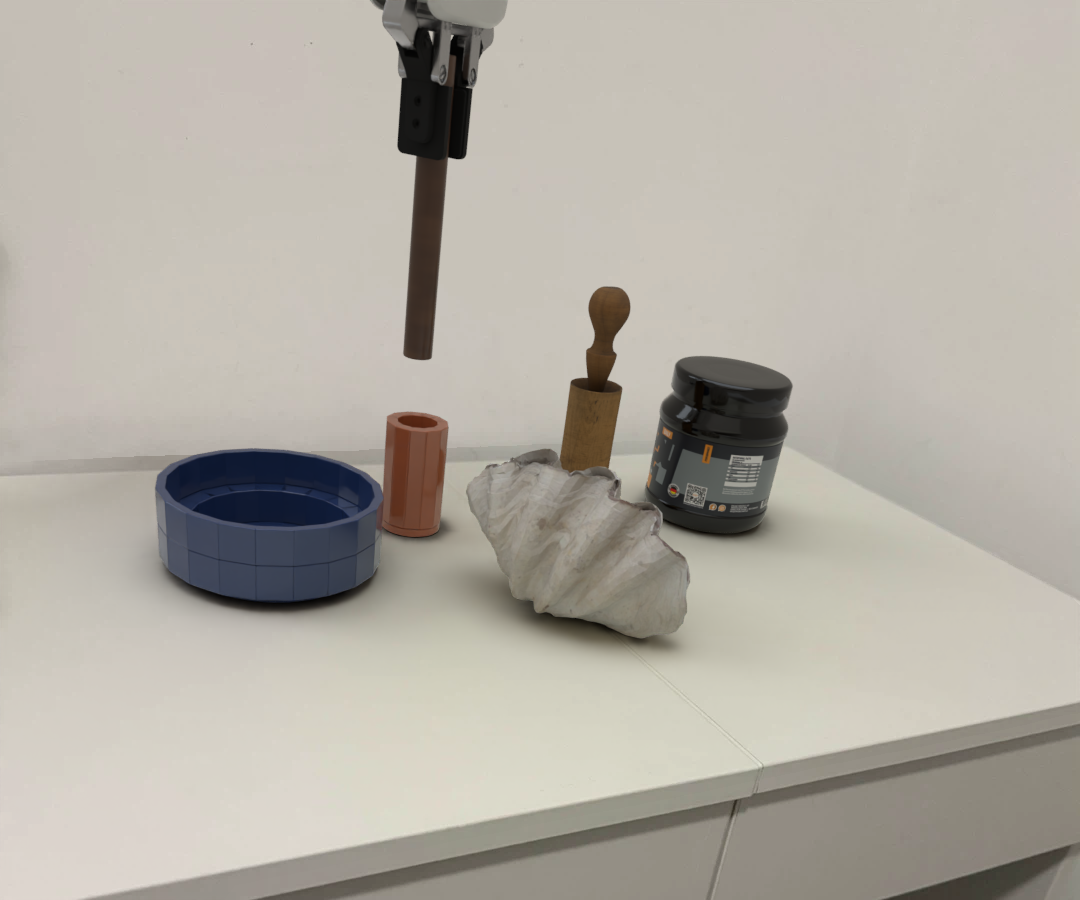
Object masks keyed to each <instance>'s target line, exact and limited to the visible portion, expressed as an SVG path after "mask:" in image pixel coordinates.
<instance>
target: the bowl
mask: <svg viewBox="0 0 1080 900" xmlns="http://www.w3.org/2000/svg"><path fill="white" fill-rule="evenodd" d="M382 491H383V489H382V485H381V484H380V483H379V482H378V481H376V480H375V479H374V478H373V477H372V476H371V475H370V474H368V473H367V472H366V471H363V470H362V469H360V468H357V467H356V466H353V465H351V464H349V463H347V462H344V461H340V460H337V459H334V458H330V457H326V456H323V455H319V454H315V453H308V452H304V451H303V452H302V451H295V450H289V449H277V448H259V447H254V448H253V447H250V448H233V449H231V448H230V449H220V450H219V449H218V450H213V451H208V452H202V453H197V454H192V455H190V456H187V457H185V458H182V459H179V460H176V461H174V462H171V463H170V464H169V465H167V466H166V467H165V468H164V469H162V470H161V471H160V472H159V473H158V474H157V475H156V480H155V486H154V493H155V510H156V511H155V512H156V523H157V525H156V527H157V538H158V539H157V541H158V555H159V558H160V560H161V561H162V563H163V564H164V566H165V568H166V569H167V571H168V572H170V573H171V574H172V575H174V576H176V577H177V578H179V579H181V580H182V581H184V582H185V583H187V584H189V585H191V586H193V587H196V588H199V589H203V590H205V591H208V592H211V593H214V594H217V595H221V596H224V597H228V598H233V599H236V600H243V601H249V602H255V603H256V602H258V603H272V604H273V603H274V604H275V603H278V604H279V603H296V602H297V603H298V602H299V603H300V602H305V601H306V602H307V601H312V600H313V601H314V600H316V599H320V598H325V597H329V596H330V597H331V596H333V595H336V594H340V593H342V592H345V591H350V590H352V589H354V588H357V587H359V586H360V585H362V584H364V582H365V581H367V580H369V579H371V577H373V576H374V574H375V572H376V570H377V569H378V567H379V566H380V563H381V556H382V555H381V553H382V537H383V535H382V534H383V531H382V530H383V526H382V521H383V503H384V497H383V493H382Z"/></svg>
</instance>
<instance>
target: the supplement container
mask: <svg viewBox="0 0 1080 900" xmlns="http://www.w3.org/2000/svg"><path fill="white" fill-rule="evenodd" d="M670 387H671V389H672V391H671V392H670V393H669V394H668V395H667V396H665V397H664V398H663V400H662V401H661V403H660V406H659V420H658V425H657V431H656V435H655V439H654V446H653V451H652V455H651V460H650V464H649V470H648V476H647V481H646V483H645V486H644V498H645V502H650V503H652V504H654V505H655V506H657V508H658V509H659V510H660V511H661V512H662V516H663V519H664V520H666V521H668V522H670V523H671V524H675V525H677V526H680V527H683V528H686V529H689V530H693V531H697V532H703V533H711V534H723V535H725V534H727V535H728V534H729V535H730V534H739V533H742V532H743V533H744V532H747V531H749V530H752V529H754V528H756V527H757V526H759V525H760V524H761V523H762V522H763V520H764V518H765V517H766V514H767V510H768V502H769V499H770V496H771V491H772V488H773V483H774V480H775V475H776V473H777V468H778V465H779V460H780V457H781V453H782V449H783V445H784V442H785V439H786V438H787V436H788V433H789V423H788V419H787V418H786V416H785V414H784V411H786V410H787V408H788V407H789V403H790V400H791V396H792V392H793V389H794V385H793V382H792V380H791V379H790V378H789V377H788V376H787V375H785V374H783V373H782V372H780V371H777V370H775V369H773V368H770V367H767V366H764V365H761V364H758V363H754V362H750V361H746V360H741V359H737V358H731V357H730V358H729V357H722V356H712V355H691V356H685V357H682V358H680V359H678V360H677V361H676V362H675V364H674V367H673V372H672V377H671V383H670Z"/></svg>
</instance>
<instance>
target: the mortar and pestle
mask: <svg viewBox="0 0 1080 900" xmlns="http://www.w3.org/2000/svg"><path fill="white" fill-rule="evenodd" d="M630 300H631V299H630V297H629V295H628V294H627V292H626V291H625V290H624V289H623V288H621V287H618V286H607V285H606V286H601V287H598V288H597V289H596V290H594V292H592V294H591V297H590V298H589V301H588V307H587V309H588V315H589V316H588V317H589V319H590V322H591V325H592V328H593V332H594V336H593V337H594V338H593V342H592V344H591V346H590V347H588V348H587V349H586V350H585V365H586V366H585V367H586V375H587V376H586V377H577V378H574V379H571V381H570V383H569V391H568V398H567V406H566V413H565V421H564V427H563V433H562V434H563V435H562V442H561V448H560V455H559V459H560V462H561V467H562V469H564V470H568V471H569V473H572V472H573V471H575V470H577V471H584V470H586V469H588V468H591V467H596V466H599V467H606V468H608V469H610V464H611V457H612V450H613V444H614V439H615V435H616V434H615V433H616V428H617V422H618V418H619V417H618V416H619V410H620V406H621V405H620V404H621V401H622V400H621V399H622V395H623V386H622V385H620V384H619V383H617V382H615V381H612V380H610V379H609V377H610V375H611V373H612V371H613V368H614V366H615V363H616V361H617V357H618V353H617V352H616V351H615V349H614V341H615V338H616V336H617V334H618V333H619V332H620V331H621V329H622V328H623V326H624V325H625V324H626V322H627V320H628V319H629V317H630V314H631V301H630Z"/></svg>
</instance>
